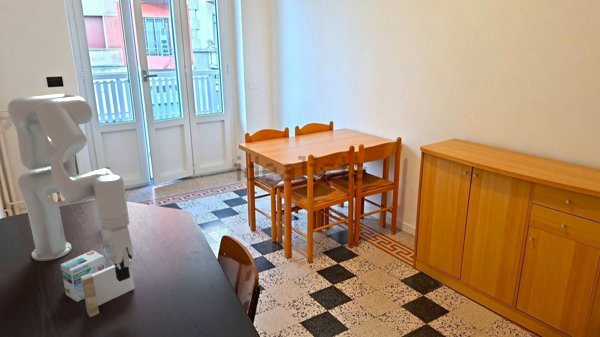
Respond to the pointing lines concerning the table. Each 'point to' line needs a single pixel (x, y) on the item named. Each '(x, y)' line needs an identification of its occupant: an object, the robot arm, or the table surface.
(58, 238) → the robot arm
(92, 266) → the light bulb box
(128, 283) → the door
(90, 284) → the tan wooden blocky piece
